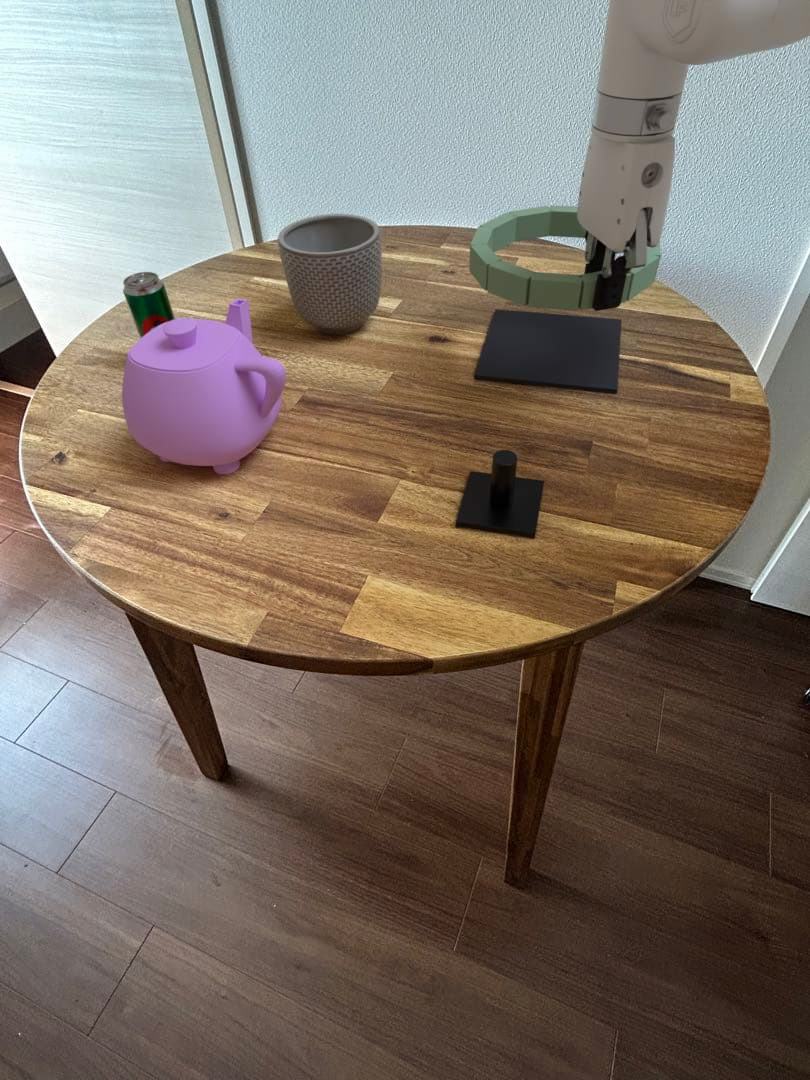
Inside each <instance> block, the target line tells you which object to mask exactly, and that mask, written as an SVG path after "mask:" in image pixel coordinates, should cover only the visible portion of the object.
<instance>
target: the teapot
mask: <svg viewBox="0 0 810 1080" xmlns="http://www.w3.org/2000/svg"><path fill="white" fill-rule="evenodd" d="M286 381H287V372H286V369H285V366H284V365H283V364H282V362H281V361H279V360H278V359H275V358H272V357H267V356H263V354H261V352H260V351H259V350H258V349H257V347H256V346H255V345H254V343H253V333H252V323H251V312H250V302H249V299H243V298H239V297H237V298H236V299H234V300H233V301H231V302H230V303H229V304H228V311H227V316H226V318H225V322H221V321H218V320H212V319H205V318H204V319H203V318H191V317H178V318H175V319H174V320H171V321H169V322H166V323H163V324H161V325H159V326H157V327H155V328H154V329H152V330H151V331H149V332H148V333H147V334H146V335H144V336H143V337H142V338H141V339H140V338H139V339H138V340H137V341H136V342H135V343H134V344H133V345H132V347H131V348H130V349H129V350H128V353H127V357H126V360H125V365H124V371H123V378H122V387H121V389H122V390H121V401H122V402H121V403H122V409H123V415H124V419H125V423H126V426H127V429H128V432H129V434H130V436H131V437H132V438H133V439H134V440H135V442H136V443H138V444H139V445H140V446H141V447H142V448H144V449H146V450H147V451H149V452H150V453H153V454H155V455H156V456H159V459H160V460H161V462H162V461H163V462H165V463H172V462H173V463H176V464H181V465H187V466H195V467H196V466H198V467H200V466H201V467H208V466H209V467H212V468H213V471H214V472H215V473H217V474H219V475H229V474H232V473H234V472H236V471H237V470H238V469H239V468H240V465H241V462H240V460H241V459H243V458H245V457H246V456H248V455H249V454H250V453H251V452H253V451H254V450H255V449H256V448H257V447H258V446H259V445H261V443H262V442H263V441H264V440H265V438H266V437H267V436H268V434H269V433H270V432H271V429H272V428H273V426H274V424H275V423H276V421H277V419H278V417H279V415H280V412H281V410H282V405H283V403H282V402H283V397H282V393H283V392H284V389H285V387H286V383H287V382H286Z"/></svg>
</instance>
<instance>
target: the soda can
mask: <svg viewBox="0 0 810 1080" xmlns="http://www.w3.org/2000/svg"><path fill="white" fill-rule="evenodd" d="M122 284H123V289H122V293H123V295H124V298H125V301H126V303H127V306H128V309H129V311H130V314H131V317H132V319H133V322H134V325H135V328H136V331H137V334H138V336H139V340H140V339H141V338H142V337H143V336H144V335H146V334H147V333H148V332H149V331H151V330H152V329H154V328H155V327H157V326H159V325H161V324H163V323H166V322H169V321H171V320H174V319H176V317H175V315H174V312H173V307H172V305H171V302H170V299H169V296H168V292H167V290H166V287H165V283H164V281H162V280H161V278H159V274H157V273H156V272H152V271H140V272H136V273H133V274H130V275H128V276H127V277H125V278H124V279H123V282H122Z"/></svg>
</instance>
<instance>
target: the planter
mask: <svg viewBox="0 0 810 1080" xmlns="http://www.w3.org/2000/svg"><path fill="white" fill-rule="evenodd" d="M382 246H383V245H382V233H381V229H380V227H379V225H378V224H377V223H376V221H373V220H372V219H370V218H367V217H364V216H361V215H355V214H349V213H329V214H319V215H314V216H309V217H305V218H302V219H299V220H296V221H294V222H292V223H290V224H288V225H287V226H285V227H284V228H283V229H282V230H281V231H280V232H279V233H278V236H277V248H278V253H279V256H280V261H281V265H282V269H283V271H284V272H283V273H284V277H285V280H286V283H287V287H288V291H289V295H290V297H291V300H292V303H293V306H294V307H295V310H296V311H297V313H298V315H299V316H300V317H301V318H302V319H303V320H305V321H306V322H308V323H309V324H310V325H313V326H315V327H316V328H317V329H318V330H319V331H320V332H322V333H324V334H328V335H345V334H350V333H353V332H355V331H357V330H358V329H360V328H361V327H362V326H363V324H364V322H366V320H367V319H369V318H370V317H371V316H372V315H373V314H374V312H375V311H376V309H377V308H378V306H379V304H380V303H379V302H380V298H381V293H382V291H381V290H382V273H383V268H382V265H383V263H382V260H383V259H382V251H383V250H382Z"/></svg>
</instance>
